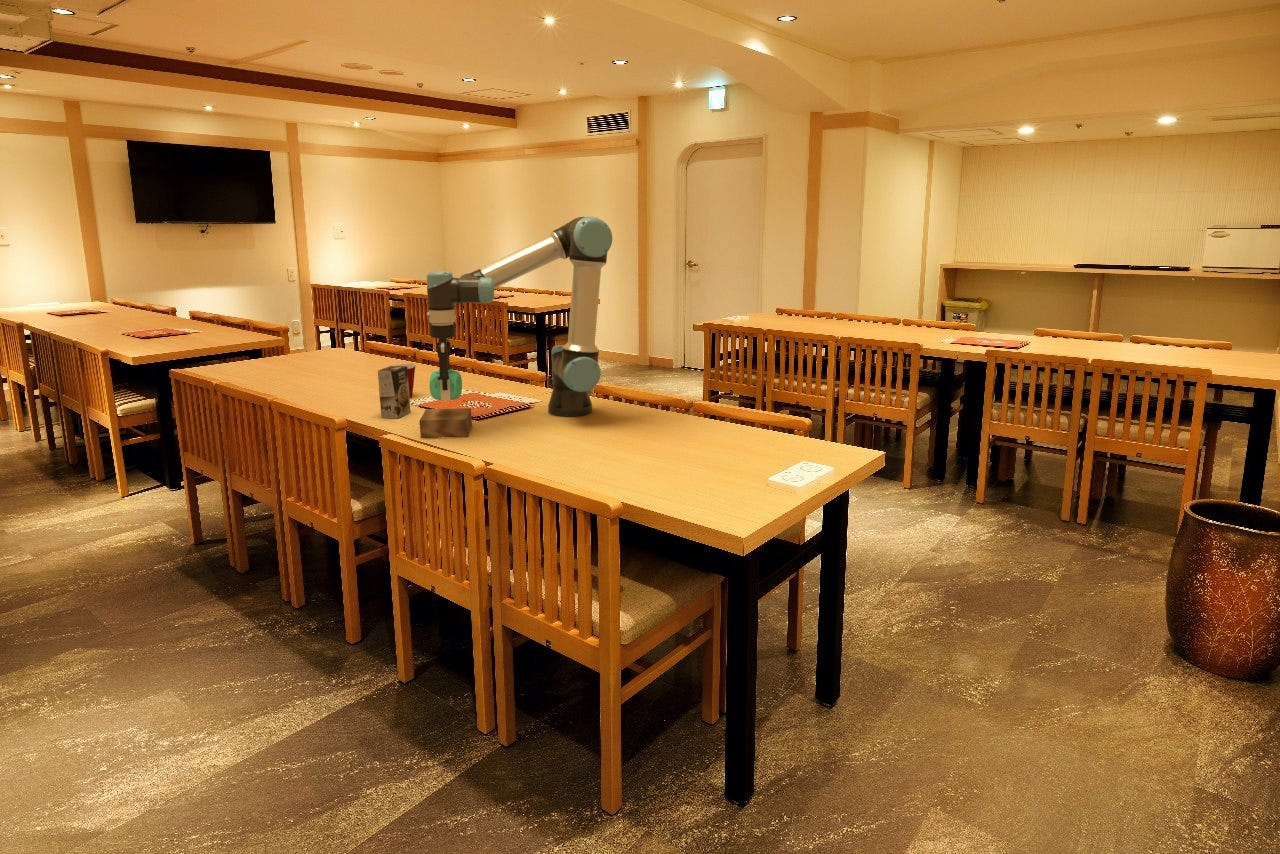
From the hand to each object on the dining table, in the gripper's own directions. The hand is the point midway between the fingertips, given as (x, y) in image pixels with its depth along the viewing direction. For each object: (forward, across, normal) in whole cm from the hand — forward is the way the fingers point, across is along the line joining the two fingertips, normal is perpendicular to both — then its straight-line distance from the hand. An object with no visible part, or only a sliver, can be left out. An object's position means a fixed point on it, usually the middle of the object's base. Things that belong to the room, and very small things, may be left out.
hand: (446, 396), depth 244 cm
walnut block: (+11, 0, 0) cm, 11 cm away
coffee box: (+11, -24, -18) cm, 32 cm away
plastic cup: (+11, -51, -18) cm, 55 cm away
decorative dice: (0, 0, 0) cm, 0 cm away
